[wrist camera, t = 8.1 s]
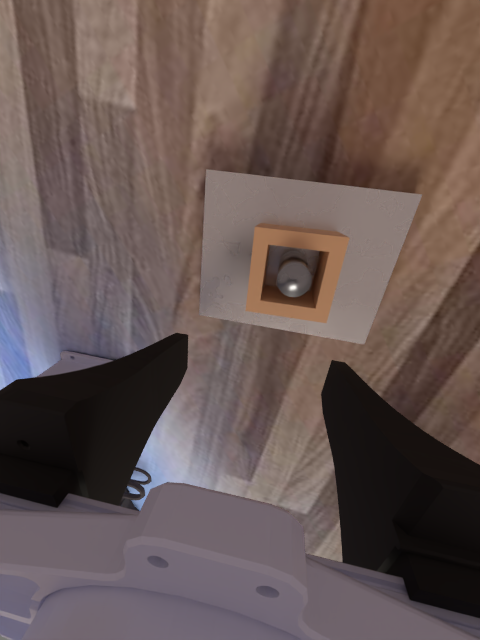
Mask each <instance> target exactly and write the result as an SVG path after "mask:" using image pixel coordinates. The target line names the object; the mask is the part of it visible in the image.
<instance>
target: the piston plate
mask: <svg viewBox="0 0 480 640" xmlns="http://www.w3.org/2000/svg"><path fill="white" fill-rule="evenodd" d="M421 197H422V194H413V193H405V192H396V191H387V190H379V189H370V188H362V187H353V186H345V185H336V184H328V183H319V182H311V181H302V180H294V179H285V178H276V177H268V176H259V175H251V174H242V173H234V172H225V171H217V170H208V169H206V183H205V204H204V225H203V245H202V266H201V287H200V308H199V315H203V316H208V317H214V318H219V319H225V320H231V321H236V322H242V323H247V324H253V325H259V326H264V327H270V328H275V329H281V330H287V331H292V332H298V333H303V334H309V335H315V336H320V337H326V338H332V339H337V340H343V341H348V342H354V343H360V344H365V341H366V339H367V336H368V333H369V331H370V328H371V326H372V323H373V321H374V318H375V315H376V313H377V310H378V308H379V305H380V302H381V300H382V297H383V295H384V292H385V290H386V287H387V284H388V282H389V279H390V277H391V274H392V271H393V269H394V266H395V264H396V261H397V259H398V256H399V253H400V251H401V248H402V246H403V243H404V241H405V238H406V235H407V233H408V230H409V228H410V225H411V222H412V220H413V217H414V215H415V212H416V210H417V207H418V204H419V202H420V199H421ZM260 223H265V224H274V225H283V226H292V227H301V228H310V229H319V230H328V231H337V232H340V233H341V234H343V235H345V236H347V237H349V242H348V246H347V250H346V253H345V257H344V261H343V264H342V268H341V272H340V275H339V279H338V283H337V286H336V290H335V294H334V297H333V301H332V305H331V309H330V312H329V316H328V320H327V323H321V322H315V321H308V320H301V319H295V318H288V317H282V316H275V315H269V314H262V313H255V312H249V311H245V310H246V301H247V293H248V284H249V275H250V266H251V257H252V248H253V239H254V230H255V226H257V225H258V224H260ZM319 252H320V251H317V250H309V249H301V248H293V247H284V246H276V245H270V249H269V256H268V263H267V270H266V278H265V285H269V286H276V287H278V288H279V290H280V291H281V292H282V293H283V294H284V295H286V296H289V297H298V296H301V295H303V294H305V293H306V292H307V291H311V288H312V283H313V279H314V274H315V270H316V266H317V261H318V257H319Z"/></svg>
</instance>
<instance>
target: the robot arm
mask: <svg viewBox="0 0 480 640" xmlns="http://www.w3.org/2000/svg"><path fill="white" fill-rule="evenodd" d="M60 356H61V360H60V361H59V362H58V363H56V364H55V365H53V366H52V367H50V368H49V369H47V370H46V371H44V372H43V373H42V374H40V375H39V376H37V377H35V378H27V379H18V380H15V381H14V382H12V383H11V384H9V385H8V386H6V387H5V388H3V389H2V390H0V636H2V637H4V638H7V639H9V640H480V465H479V464H477V463H475V462H473V461H472V460H470V459H468V458H466V457H465V456H463V455H461V454H459V453H458V452H456V451H454V450H453V449H451V448H449V447H448V446H446V445H444V444H443V443H441V442H440V441H438V440H436V439H435V438H433V437H432V436H430V435H429V434H427V433H426V432H424V431H423V430H421V429H420V428H419V427H417V426H416V425H414V424H413V423H412V422H410V421H409V420H408V419H406V418H405V417H404V416H403V415H401V414H400V413H399V412H397V411H396V410H395V409H394V408H392V407H391V406H390V405H389V404H388V403H387V402H386V401H384V400H383V399H382V398H381V397H380V396H379V395H378V394H377V393H376V392H375V391H374V390H372V389H371V388H370V387H369V386H368V385H367V384H366V383H365V382H364V381H363V380H362V379H361V378H360V377H359V376H358V375H357V374H356V373H355V372H354V371H353V370H352V369H351V368H350V367H349V366H348V365H347V364H346V363H345V362H339V361H333V360H332V361H331V365H330V368H329V371H328V374H327V377H326V380H325V383H324V386H323V390H322V393H321V396H322V409H323V415H324V420H325V425H326V429H327V434H328V438H329V443H330V447H331V451H332V456H333V461H334V467H335V476H336V484H337V494H338V504H339V514H340V528H341V541H342V558H343V563H342V562H338V561H334V560H330V559H326V558H322V557H318V556H314V555H310V554H306V553H305V540H304V528H303V526H302V524H301V523H300V522H299V521H298V520H297V519H296V518H295V517H294V516H293V515H292V514H291V513H290V512H289V511H287V510H284V509H282V508H279V507H277V506H274V505H272V504H269V503H265V502H260V501H256V500H252V499H248V498H244V497H239V496H235V495H231V494H227V493H222V492H218V491H214V490H210V489H206V488H201V487H197V486H193V485H189V484H185V483H170V482H167V483H164V484H162V485H160V486H157V487H155V488H152V489H150V492H149V494H148V496H147V498H146V500H145V502H144V504H143V506H142V509H141V511H136V510H132V509H128V508H124V507H121V506H119V504H120V502H121V499H122V497H123V494H124V492H125V490H126V487H127V485H128V483H129V480H130V478H131V476H132V473H133V471H134V469H135V467H136V464H137V462H138V460H139V458H140V456H141V453H142V451H143V449H144V447H145V445H146V443H147V441H148V439H149V437H150V434H151V432H152V430H153V428H154V426H155V425H156V423H157V421H158V419H159V418H160V416H161V414H162V413H163V411H164V410H165V408H166V406H167V405H168V403H169V402H170V400H171V398H172V397H173V395H174V394H175V392H176V390H177V389H178V387H179V385H180V384H181V381H182V379H183V377H184V375H185V372H186V370H187V362H188V335H186V334H180V333H175V334H173V335H171V336H168V337H166V338H164V339H162V340H160V341H158V342H156V343H154V344H152V345H150V346H148V347H146V348H144V349H141V350H139V351H137V352H135V353H132V354H130V355H128V356H125V357H122V358H120V359H117V360H109V359H104V358H99V357H94V356H90V355H85V354H80V353H75V352H70V351H63V352H61V353H60Z"/></svg>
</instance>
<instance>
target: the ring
mask: <svg viewBox="0 0 480 640" xmlns="http://www.w3.org/2000/svg"><path fill="white" fill-rule="evenodd" d="M348 242H349V237H347V236H345V235H343V234H341V233H340V232H337V231H328V230H319V229H310V228H301V227H292V226H283V225H274V224H265V223H260V224H258V225H257V226H255V230H254V239H253V248H252V257H251V266H250V275H249V284H248V293H247V301H246V310H245V311H249V312H255V313H262V314H269V315H275V316H282V317H288V318H295V319H301V320H308V321H315V322H321V323H327V320H328V316H329V312H330V309H331V305H332V301H333V297H334V294H335V290H336V286H337V283H338V279H339V275H340V272H341V268H342V264H343V261H344V257H345V253H346V250H347V246H348ZM270 245H276V246H284V247H293V248H301V249H309V250H317V251H320V252H319V257H318V261H317V266H316V270H315V274H314V279H313V283H312V288H311V291H307V292H306V293H305V294H303V295H301V296H298V297H289V296H286V295H284V294H283V293H282V292H281V291H280V290H279V288H278V287H276V286H269V285H265V278H266V270H267V263H268V256H269V249H270Z"/></svg>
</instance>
